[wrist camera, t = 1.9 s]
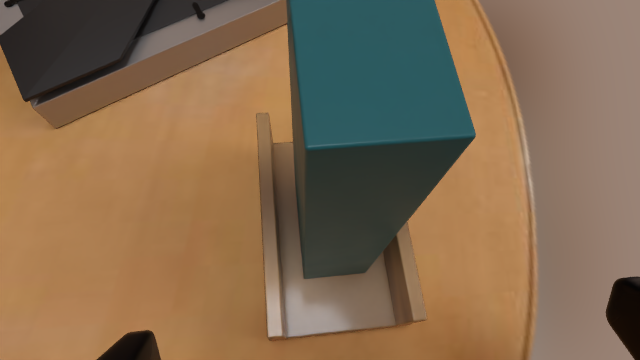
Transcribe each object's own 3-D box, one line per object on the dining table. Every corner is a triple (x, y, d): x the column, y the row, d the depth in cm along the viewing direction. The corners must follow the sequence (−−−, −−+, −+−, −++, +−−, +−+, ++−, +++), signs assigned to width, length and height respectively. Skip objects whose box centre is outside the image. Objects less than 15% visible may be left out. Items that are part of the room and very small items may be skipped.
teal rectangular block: (366, 273, 19) (478, 135, 7) (303, 279, 18) (304, 149, 6) (351, 178, 21) (417, -58, 9) (295, 183, 20) (283, -53, 8)
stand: (407, 325, 19) (433, 319, 15) (270, 341, 18) (261, 338, 14) (373, 143, 23) (387, 104, 19) (260, 152, 22) (252, 113, 18)
